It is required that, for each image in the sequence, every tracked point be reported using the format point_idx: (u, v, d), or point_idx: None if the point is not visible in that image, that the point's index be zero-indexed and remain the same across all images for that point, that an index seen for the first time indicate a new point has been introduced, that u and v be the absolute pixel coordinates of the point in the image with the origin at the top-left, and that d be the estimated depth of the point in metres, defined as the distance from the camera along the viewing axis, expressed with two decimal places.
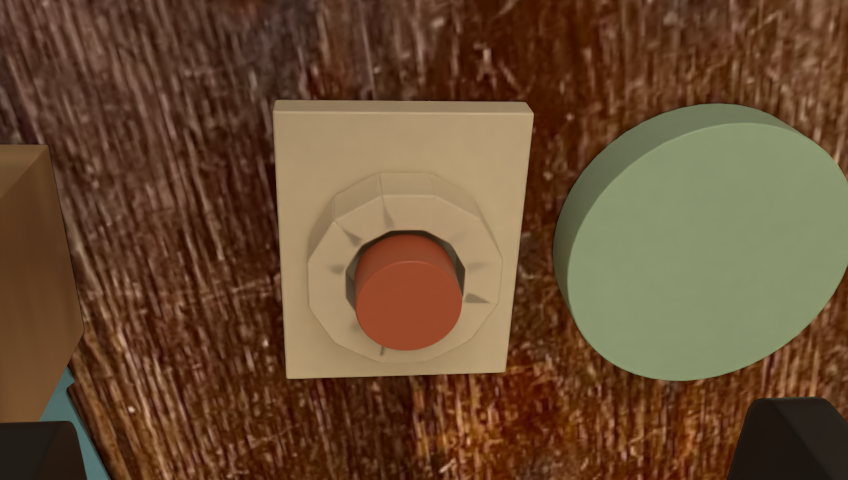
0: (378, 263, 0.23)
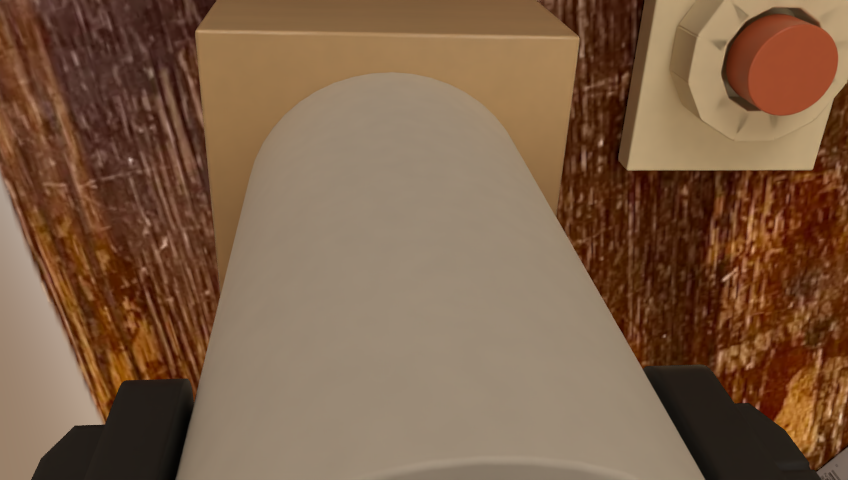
0: (771, 30, 0.26)
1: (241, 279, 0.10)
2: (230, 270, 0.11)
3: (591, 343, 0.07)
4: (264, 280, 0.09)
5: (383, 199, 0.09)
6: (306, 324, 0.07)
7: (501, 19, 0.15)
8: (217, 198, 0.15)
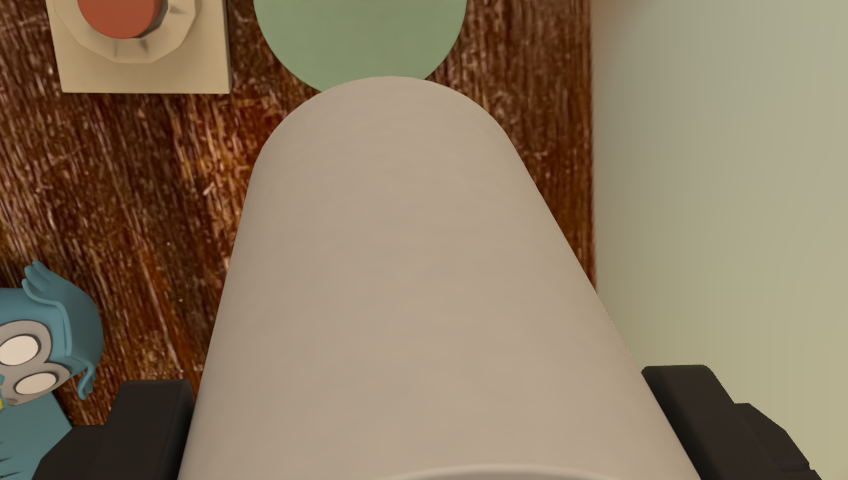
0: None
1: (241, 284, 0.10)
2: (230, 275, 0.11)
3: (589, 350, 0.07)
4: (265, 286, 0.09)
5: (383, 204, 0.09)
6: (306, 330, 0.07)
7: None
8: None
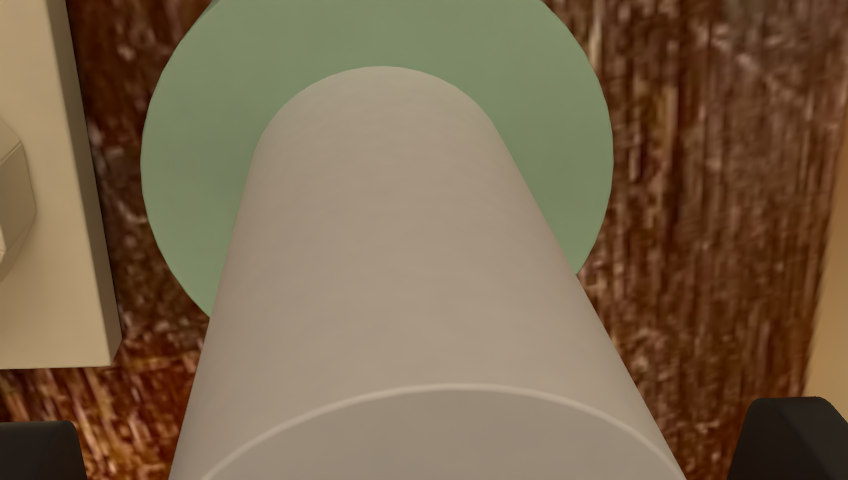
0: None
1: (242, 250, 0.11)
2: (232, 245, 0.12)
3: (553, 301, 0.08)
4: (264, 249, 0.10)
5: (372, 177, 0.10)
6: (300, 283, 0.08)
7: None
8: None
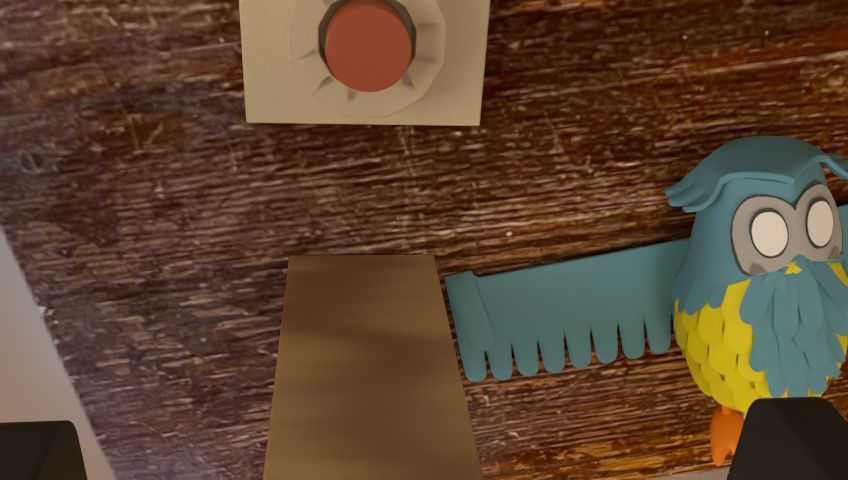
0: (333, 71, 0.29)
1: None
2: None
3: None
4: None
5: None
6: None
7: None
8: None
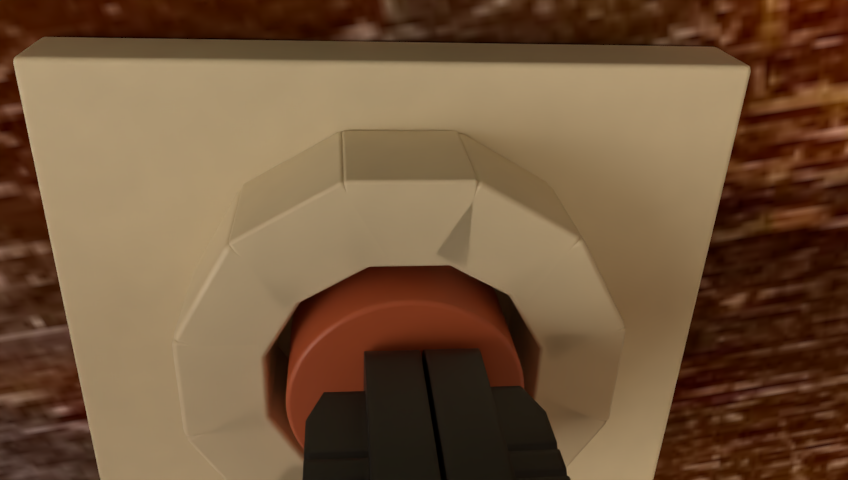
0: None
1: None
2: None
3: None
4: None
5: None
6: None
7: None
8: None
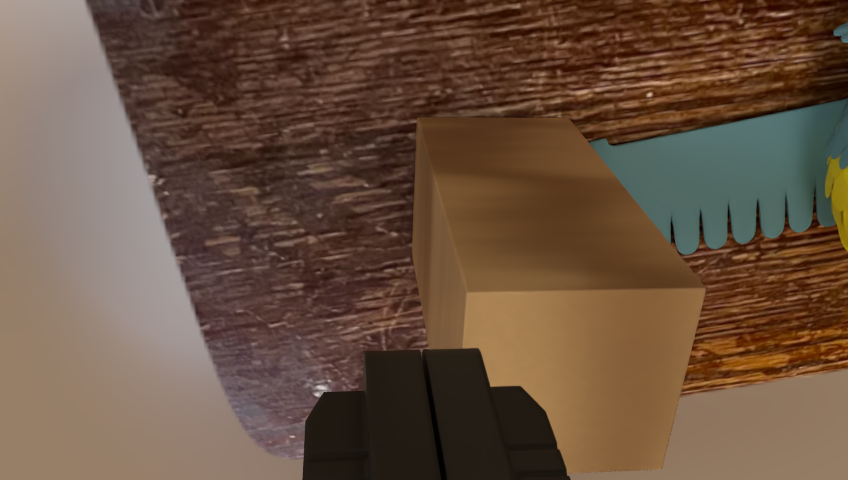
0: None
1: None
2: None
3: None
4: None
5: None
6: None
7: (457, 304, 0.23)
8: None
